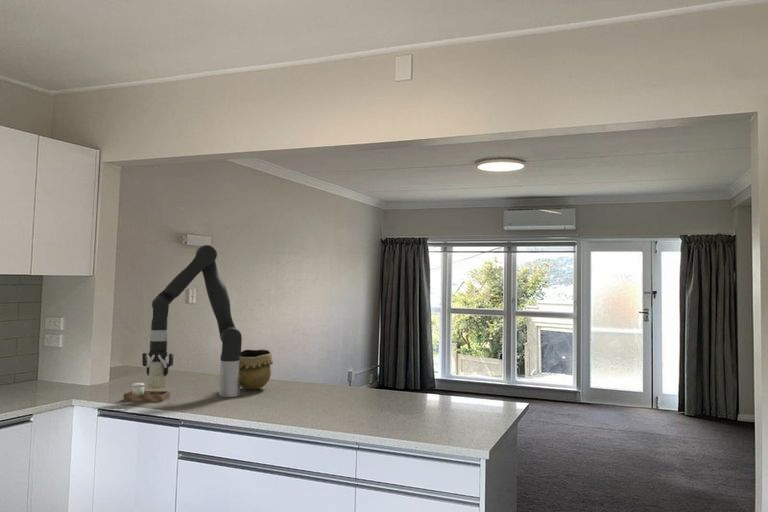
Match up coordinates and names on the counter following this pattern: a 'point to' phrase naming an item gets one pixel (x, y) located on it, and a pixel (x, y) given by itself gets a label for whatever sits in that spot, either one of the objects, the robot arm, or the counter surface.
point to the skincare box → (156, 375)
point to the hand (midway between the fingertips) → (157, 375)
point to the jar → (138, 388)
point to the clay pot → (255, 368)
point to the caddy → (148, 396)
